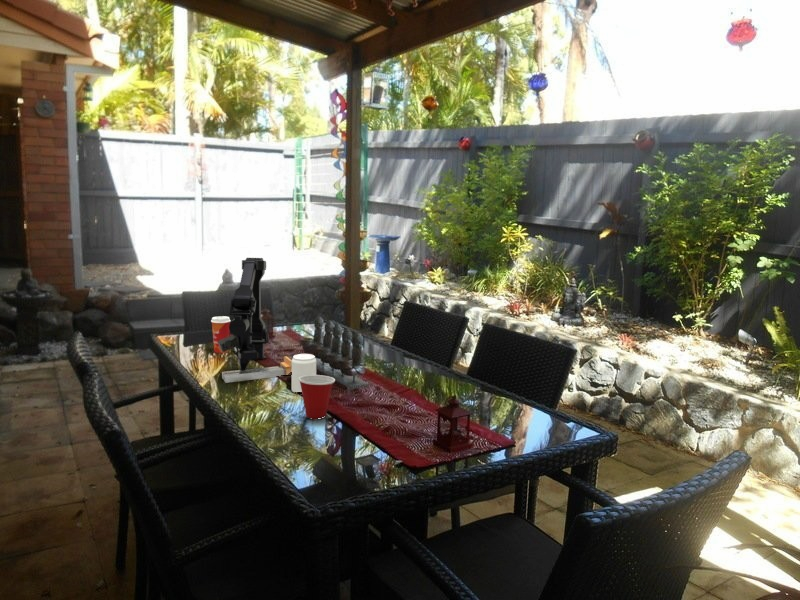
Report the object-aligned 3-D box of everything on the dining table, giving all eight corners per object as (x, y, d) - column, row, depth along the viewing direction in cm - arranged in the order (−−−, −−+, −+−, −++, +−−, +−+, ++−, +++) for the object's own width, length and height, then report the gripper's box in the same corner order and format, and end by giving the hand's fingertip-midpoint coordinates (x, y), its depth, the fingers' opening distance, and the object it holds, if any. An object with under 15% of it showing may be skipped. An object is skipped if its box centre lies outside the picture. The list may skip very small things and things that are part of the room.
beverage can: (303, 396, 212) (303, 361, 210) (286, 391, 217) (286, 356, 215) (321, 391, 218) (321, 356, 216) (304, 386, 223) (304, 352, 221)
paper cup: (210, 350, 267) (209, 316, 265) (229, 348, 270) (228, 315, 268) (213, 354, 260) (212, 320, 258) (232, 353, 263) (232, 319, 261)
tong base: (222, 379, 228) (222, 372, 228) (287, 371, 240) (287, 365, 239) (226, 383, 224) (226, 376, 223) (291, 375, 235) (291, 368, 235)
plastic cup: (342, 414, 197) (342, 376, 194) (320, 425, 187) (320, 385, 185) (313, 407, 202) (313, 370, 200) (290, 418, 193) (290, 378, 191)
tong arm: (278, 372, 238) (278, 366, 237) (279, 373, 236) (279, 367, 235) (222, 378, 229) (222, 371, 228) (223, 379, 227) (223, 373, 227)
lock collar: (280, 371, 239) (280, 356, 238) (286, 370, 240) (286, 356, 239) (286, 376, 233) (286, 361, 232) (292, 375, 234) (292, 361, 233)
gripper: (214, 324, 234) (213, 366, 237) (226, 336, 218) (226, 381, 220) (244, 322, 239) (244, 363, 242) (259, 334, 223) (258, 378, 226)
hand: (242, 371), depth 232 cm, fingers closed
